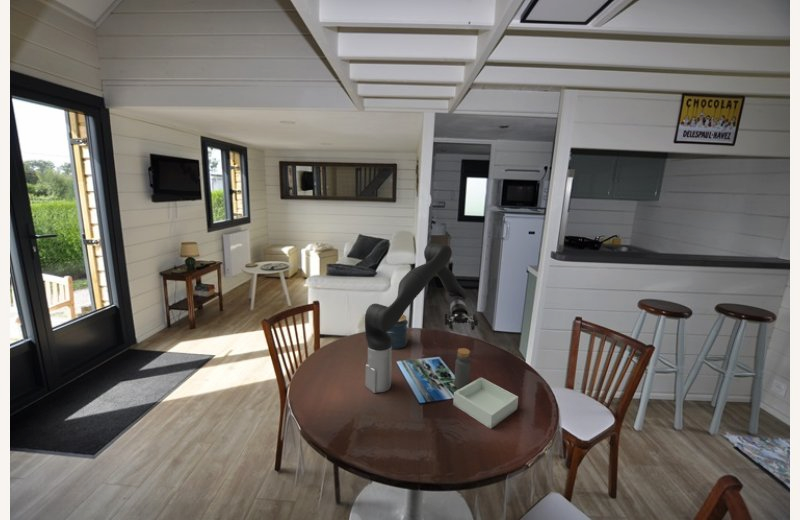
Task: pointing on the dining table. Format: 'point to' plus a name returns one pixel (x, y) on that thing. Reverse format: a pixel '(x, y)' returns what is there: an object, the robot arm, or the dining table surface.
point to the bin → (485, 402)
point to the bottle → (462, 368)
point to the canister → (399, 333)
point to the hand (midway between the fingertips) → (462, 328)
